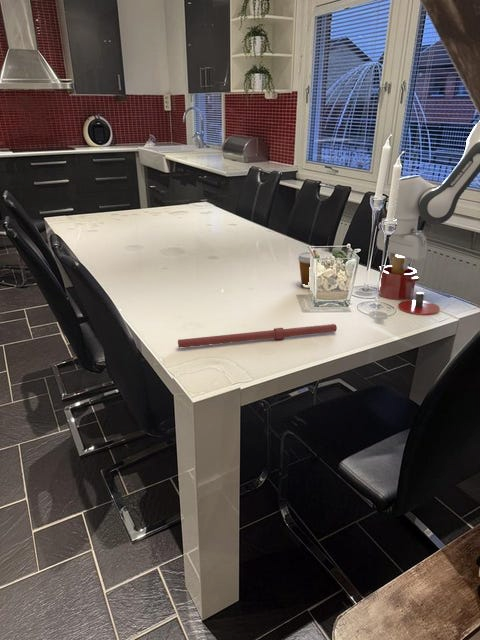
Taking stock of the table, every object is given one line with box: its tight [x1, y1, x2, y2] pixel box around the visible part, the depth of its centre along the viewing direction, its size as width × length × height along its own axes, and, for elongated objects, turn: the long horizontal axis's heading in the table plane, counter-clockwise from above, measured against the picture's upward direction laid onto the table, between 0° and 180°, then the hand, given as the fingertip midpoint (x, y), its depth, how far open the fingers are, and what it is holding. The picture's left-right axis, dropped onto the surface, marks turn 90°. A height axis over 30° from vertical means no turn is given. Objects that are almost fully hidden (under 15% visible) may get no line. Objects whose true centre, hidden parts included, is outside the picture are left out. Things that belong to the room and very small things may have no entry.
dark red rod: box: [177, 323, 338, 349], centre depth 129 cm, size 45×3×3 cm, turn 102°
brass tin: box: [391, 254, 405, 274], centre depth 159 cm, size 4×4×6 cm
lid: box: [397, 291, 441, 316], centre depth 149 cm, size 13×13×6 cm
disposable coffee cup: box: [297, 251, 311, 285], centre depth 174 cm, size 10×10×12 cm
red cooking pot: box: [378, 265, 420, 301], centre depth 161 cm, size 12×17×10 cm
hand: (398, 267), depth 159 cm, fingers closed on brass tin, 4 cm apart
